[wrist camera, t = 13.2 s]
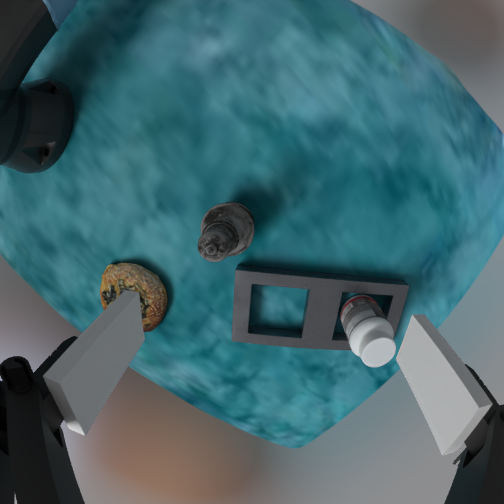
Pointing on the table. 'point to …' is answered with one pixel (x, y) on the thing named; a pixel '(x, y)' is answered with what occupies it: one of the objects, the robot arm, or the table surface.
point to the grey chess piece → (225, 231)
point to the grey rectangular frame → (310, 305)
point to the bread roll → (137, 281)
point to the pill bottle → (368, 330)
